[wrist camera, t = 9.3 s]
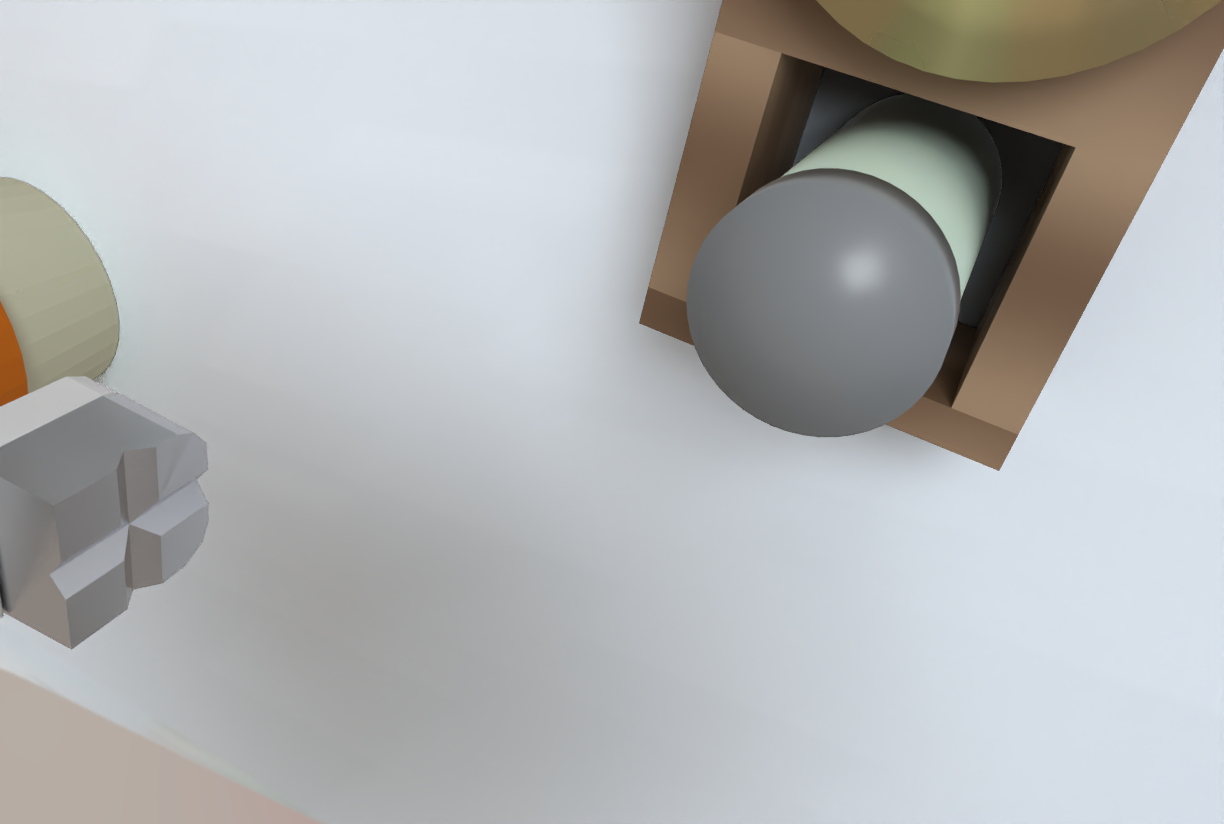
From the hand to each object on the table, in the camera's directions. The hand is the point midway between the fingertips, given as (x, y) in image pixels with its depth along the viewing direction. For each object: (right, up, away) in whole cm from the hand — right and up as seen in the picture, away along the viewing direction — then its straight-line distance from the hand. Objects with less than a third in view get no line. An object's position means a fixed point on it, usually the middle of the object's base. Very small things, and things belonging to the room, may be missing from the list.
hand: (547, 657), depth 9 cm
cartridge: (+8, +8, +16) cm, 20 cm away
